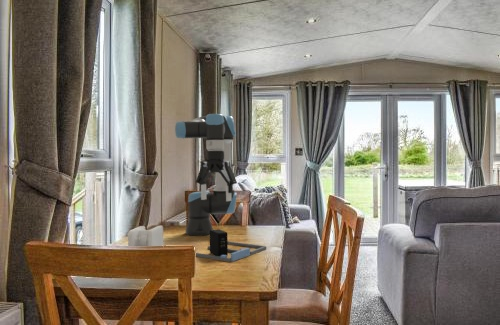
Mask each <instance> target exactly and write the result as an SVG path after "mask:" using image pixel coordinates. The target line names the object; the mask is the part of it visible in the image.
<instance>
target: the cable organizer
mask: <svg viewBox="0 0 500 325" xmlns="http://www.w3.org/2000/svg"><path fill="white" fill-rule="evenodd" d="M126 235H127V247H128V246H162V245H163V246H164V226H163V225H156V226H154V227H153V228H150V229H146V227H145V225H139V226H137V227H135V228H133V229H130V230H129V231H128V233H127V234H126Z"/></svg>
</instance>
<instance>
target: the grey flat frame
mask: <svg viewBox="0 0 500 325" xmlns="http://www.w3.org/2000/svg"><path fill="white" fill-rule="evenodd" d="M228 245H230V246H231V245H232V246H238V247H239V246H240V247H246V248H240V249H233V248H228V253H230V257H228V256H227V255H221V257H220V256H214V255H212V254H206V253H200V252H195V253H196V256H195V257H197V258H203V259H211V260H215V261H222V262H223V261H224V262H229V263H230V262H235V261H237V260H240V259H241V260H242V259H244V258H247V257H249V256H252V255H255V254H256V253H260V252H263V251H266V250H267V246H266V245H260V244H253V243H244V242H239V241H238V242H237V241H230V240H229V241H228ZM251 248H255V249H254V250H253V249H252V250H251ZM207 250H210V245H208V246H207Z"/></svg>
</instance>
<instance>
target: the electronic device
mask: <svg viewBox="0 0 500 325" xmlns="http://www.w3.org/2000/svg"><path fill="white" fill-rule="evenodd" d="M209 246H210V249H209V253H210V255H214V256H220V257H221V255H227V257H228V256H229V255H228V253H229V252H228V249H229V248H228V247H229V244H228V232H226V231H224V230H222V229H220V228H219V229H213V230H210V234H209Z"/></svg>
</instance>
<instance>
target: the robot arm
mask: <svg viewBox="0 0 500 325" xmlns="http://www.w3.org/2000/svg"><path fill="white" fill-rule="evenodd" d="M174 129H175V130H174V132H175V137H176V138H178V139H206V150H207V151H206V160H207V161H201V162H200V163H201V164H200V169H199V171H198V174H197V177H196V180H195V183H196V184H199V191H196V192H191V193H189V194H188V198H187V199H188V200H187V202H188V222H187V224H186V228H185V234H186V236H187V235H188V236H197V237H198V236H208V235H209V236H210V230H214V228H213V224H212V222H211V216H210V215H227V214H229V215H231V214H234V213H235V212H236V211H235V210H236V206H237V193H238V192H235V188H234V187H233V186H234V185H236V184H237V183H238V182H237V179H236V177H235V174H234V172H233V169H232V150H231V149H232V148H231V146H232V145H231V144H232V143H233V142H234V138H236V137H237V134H236V127H235V120H234V117H233V116H231V115H223V114H221V113H209V114H207V115H204V116H199V117H196V118H192V119H191V120H188V121H185V120H184V121H177V122H175V125H174ZM212 173H215V187H214V189H213V191H212V192H210V190H208V189H207V183H206V182H207V181H208V179H209V178H210V176H211V175H212Z"/></svg>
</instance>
